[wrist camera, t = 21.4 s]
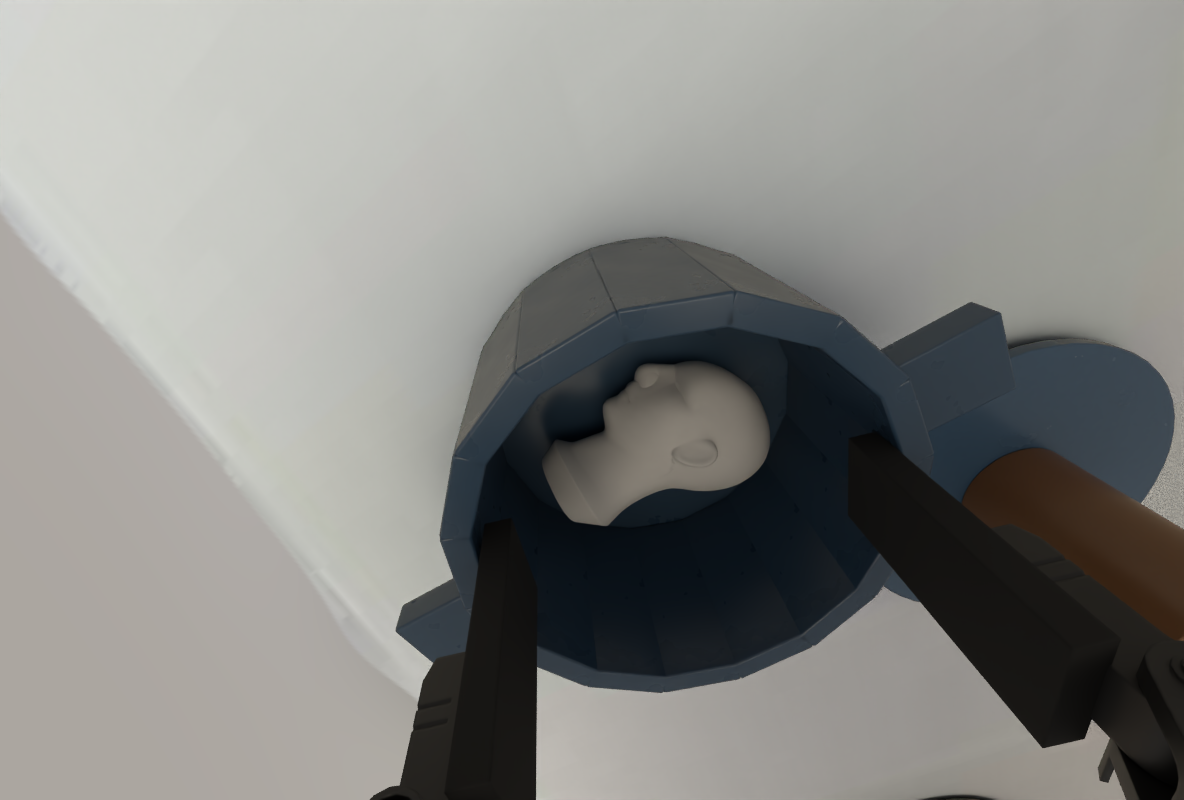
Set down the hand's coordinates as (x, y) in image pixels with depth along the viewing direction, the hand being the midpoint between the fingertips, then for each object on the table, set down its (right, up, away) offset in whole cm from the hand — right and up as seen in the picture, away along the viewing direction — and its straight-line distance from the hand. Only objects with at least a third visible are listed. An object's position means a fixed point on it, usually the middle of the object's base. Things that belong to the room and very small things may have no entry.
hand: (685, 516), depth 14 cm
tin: (-1, +3, +6) cm, 7 cm away
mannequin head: (-1, +3, +6) cm, 6 cm away
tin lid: (+16, 0, +9) cm, 18 cm away
